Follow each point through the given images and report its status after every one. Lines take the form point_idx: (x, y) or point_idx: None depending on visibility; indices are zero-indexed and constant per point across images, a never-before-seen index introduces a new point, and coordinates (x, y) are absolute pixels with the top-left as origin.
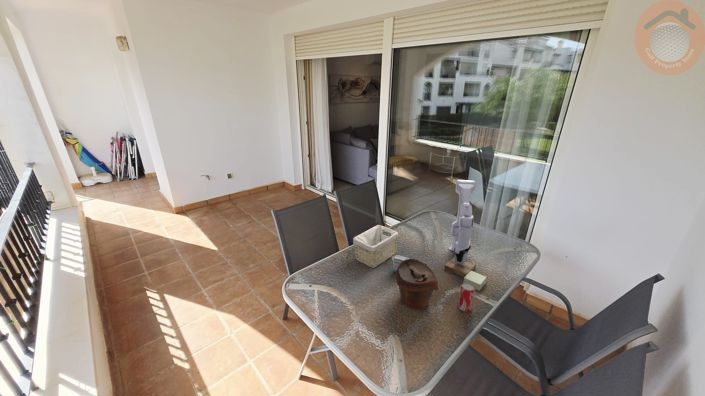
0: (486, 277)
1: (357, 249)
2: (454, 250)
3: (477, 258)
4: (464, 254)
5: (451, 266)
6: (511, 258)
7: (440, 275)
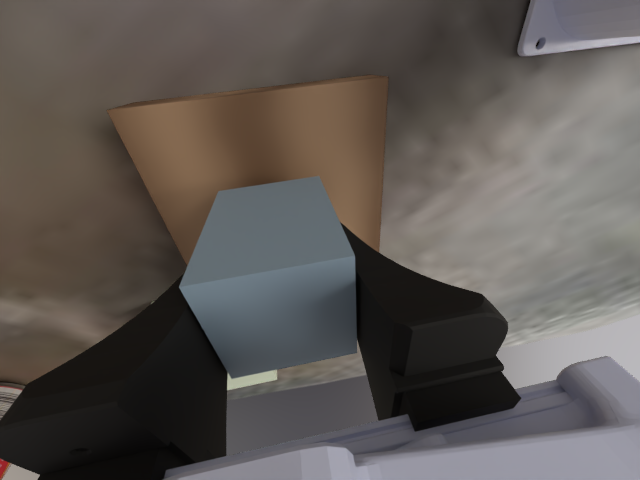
0: (275, 377)
1: None
2: (3, 427)
3: (497, 198)
4: (264, 371)
5: (168, 182)
6: (567, 295)
7: (4, 149)
